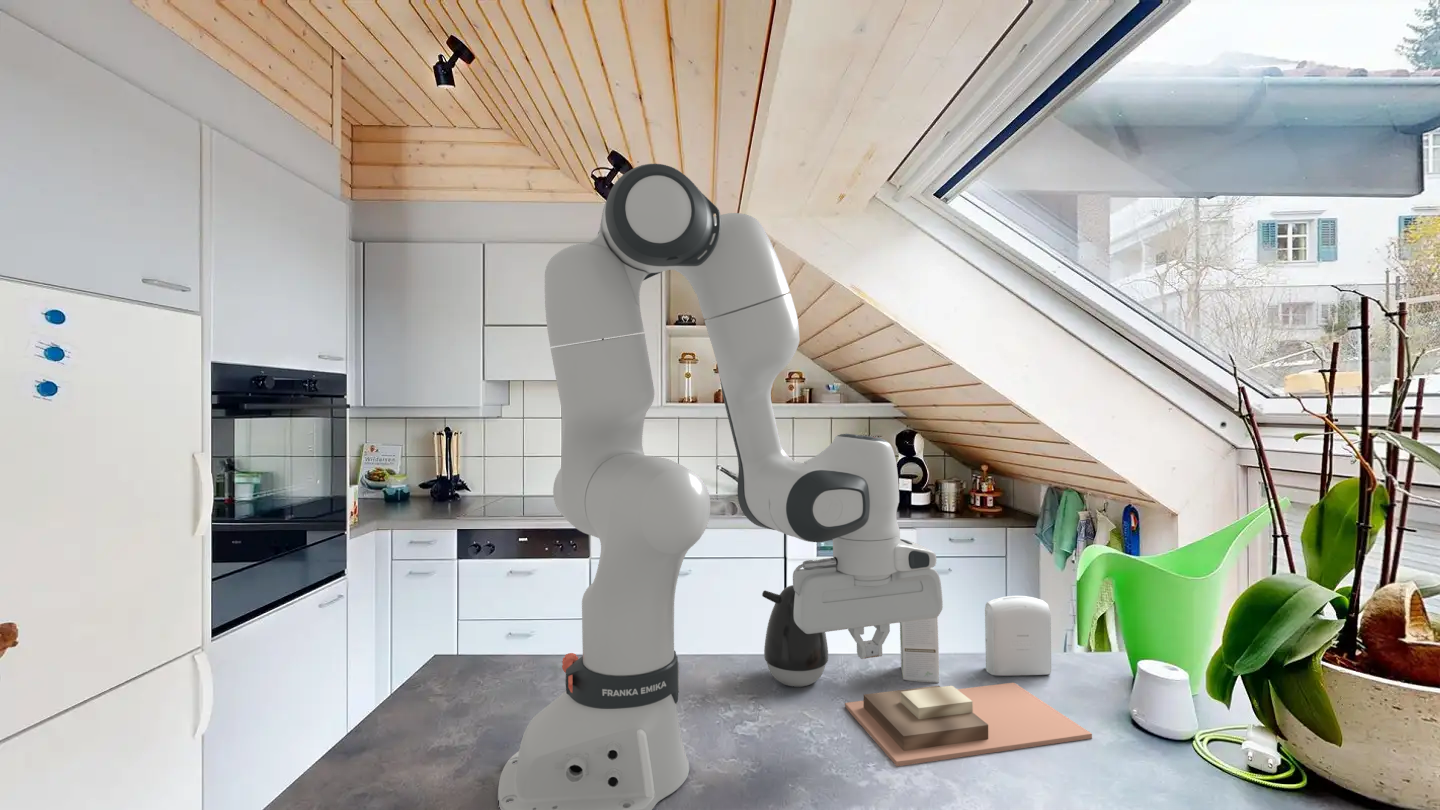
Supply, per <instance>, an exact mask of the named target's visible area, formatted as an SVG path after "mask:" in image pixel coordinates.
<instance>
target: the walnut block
mask: <svg viewBox="0 0 1440 810" xmlns="http://www.w3.org/2000/svg"><path fill="white" fill-rule="evenodd" d="M936 687H941V686H940V685H933V686H924V687H916V688H915V687H914V688H908V689H900V690H898V689H897V690H891V691H881V692H873V693H863V701H864V709H865V710H866V711H867V712H868V713H869V714H870V715H871V716H872V717H873V718H874V719H875V720H876V721H877V723H878V724H879V725H880V726H881V727H882V728H883V729H884V730H885V731H886V732H887V733H888V734H889V736H890V737H891V738H892V739H893V740H894V741H895V742H896V743H897V744H898V745H899V746H900V747H901V748H902V750H903V751H908V750H915V749H922V748H929V747H937V746H944V745H951V744H958V743H965V742H972V741H979V740H987V739H988V724H987V723H985V722H984V721H983V720H982V719H980V718H979V717H978V716H977V715H975V714H974V713H973V712H971V713H964V714H956V715H948V716H940V717H933V718H925V719H918V718H917V717H916V716H915V715H914V714H913V713H911V712H910V711H909V710H908V709H907V708H906V707H905V706H904V705H903V704H902V703H901V692H902V691H911V690H919V689H928V688H936Z"/></svg>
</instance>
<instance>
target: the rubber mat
mask: <svg viewBox="0 0 1440 810" xmlns="http://www.w3.org/2000/svg"><path fill="white" fill-rule="evenodd" d="M956 689H957V690H958V691H960V692H961V693H962V694H964V695H965V696H966V697H968V698H969V699H970V700H971V701H973V713H974V714H975V715H977V716H978V717H979V718H980V719H982V720H983V721H984V722H985V723H987V724H988V739H987V740H979V741H972V742H965V743H958V744H951V745H944V746H937V747H929V748H922V749H915V750H908V751H903V750H902V748H901V747H900V746H899V745H898V744H897V743H896V742H895V741H894V740H893V739H892V738H891V737H890V736H889V734H888V733H887V732H886V731H885V730H884V729H883V728H882V727H881V726H880V725H879V724H878V723H877V721H876V720H875V719H874V718H873V717H872V716H871V715H870V714H869V713H868V712H867V711H866V710H865V709H864V700H859V701H858V700H857V701H851V702H849V701H848V702H845V703H844V708H846V710H847V711H848V712H849V713H850V715H851V716H852V717H853V718H854V719H855V721H857V722H858V723H859V725H860V726H861V727H862V728H863V729H864V731H865V732H866V733H867V734H868V735H869V737H870V738H871V739H873V741H874V742H875V743H876V744H877V746H878V747H879V748H880V749H881V750H882V751H883V753H885V755H886V756H887V757H888V759H890V760H891V762H892V763H893V764H894V765H895V766H896V767H903V766H909V765H916V764H923V763H930V762H931V763H932V762H936V761H944V760H951V759H958V758H965V757H971V756H972V757H973V756H979V755H985V754H992V753H993V754H994V753H999V752H1006V751H1013V750H1014V751H1015V750H1021V749H1027V748H1034V747H1039V746H1047V745H1055V744H1061V743H1068V742H1074V741H1075V742H1076V741H1081V740H1089V739H1093V733H1092V732H1090V731H1088V730H1087V729H1086V728H1084V727H1083V726H1081V725H1079V724H1078V723H1076V722H1075V721H1074V720H1072V719H1070V718H1069V717H1067V716H1066V715H1064V714H1063V713H1061V712H1059V711H1058V710H1057V709H1055V708H1053V707H1052V706H1051V705H1049V704H1047V703H1046V702H1045V701H1042V700H1041V699H1040V698H1038V697H1036V696H1035V695H1034V694H1033V693H1032V692H1031V693H1030V692H1029V691H1028V690H1026V689H1025V688H1023V687H1022V686H1021V685H1018V684H1017V683H1015V682H1007V683H999V684H991V685H983V686H982V685H980V686H974V687H967V688H966V687H965V688H964V687H963V688H956Z"/></svg>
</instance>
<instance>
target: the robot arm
mask: <svg viewBox="0 0 1440 810" xmlns="http://www.w3.org/2000/svg"><path fill="white" fill-rule="evenodd" d="M601 213H602V214H601V219H600V224H599V225H600V226H599V230H598V233H597V235H596V237H594V238H593V239H592V240H589V241H588V242H583V243H576V244H573V245H569V246H567V247H565V248H563V249H561V250H560V251H558V252H556V254H554V255H553V256H552V257H551V258H550V259H549V261H548V262H547V264H546V267H545V271H544V306H545V307H544V309H545V317H546V318H545V321H546V327H547V328H546V329H547V330H546V331H547V334H548V335H547V336H548V341H549V347H550V353H551V357H552V359H551V360H552V365H553V369H554V373H555V374H554V375H555V380H556V381H555V382H556V384H557V385H556V386H557V393H558V397H559V402H560V408H561V409H560V410H561V424H562V425H561V426H562V428H561V429H562V430H561V453H560V454H561V456H560V458H561V459H560V469H559V470H558V471H557V474H556V477H555V479H554V482H553V487H552V493H553V495H552V496H553V501H554V504H555V507H556V508H557V510H558V512H559V513H560V514H561V515H562V517H564V519H565V520H566V521H567V522H568V523H569V524H570V525H571V526H573V528H575V529H576V530H577V531H579V532H581V533H583V534H586V535H588V536H592V537H594V538H598V539H599V542H600V553H599V554H600V555H599V561H598V564H597V565H598V566H597V569H596V573H595V577H594V579H593V582H592V583H590V585H589V586H588V587H587V588H586V589H585V591H584V593H583V595H582V598H581V599H582V600H581V630H582V631H581V633H582V635H581V638H582V641H581V642H582V655H581V656H580V657H579V656H577V653H573V652H569V653H567V654H565V655H564V657H563V658H562V661H561V662H562V663H561V664H562V667H561V668H562V670H563V672H564V673H565V679H564V680H565V691H563V692H562V693H561V694H560V695H558V697H556V698H555V699H554V700H552V702H550V703H549V704H548V705H546V706H545V707H544V708H543V709H541V710H540V711H539V712H538V713H536V714H535V715H534V716H533V717H532V718H531V719H530V721H529V722H528V724H527V727H526V728H525V730H524V733H523V735H522V738H521V741H520V746H519V750H518V751H517V752H515V753H514V754H513V755H512V756H510V758H509V759H508V760H507V762H506V763H505V765H504V767H503V768H502V771H501V773H500V776H499V780H498V781H499V782H498V789H497V801H498V800H499V804H500V806H501V808H502V809H503V810H653V809H654V808H655V806H656V805H657V804H658V803H659V802H660V801H661V800H664V799H665V798H666V797H668V796H670V795H671V794H673V793H674V792H675V791H677V790H679V789H680V788H681V786H682V785H683V784H684V782H685V781H686V780H687V778H688V775H689V772H690V761H689V759H688V756H687V754H686V750H685V746H684V742H683V738H682V732H681V727H680V719H679V713H678V702H679V693H680V663H679V659H678V656H677V653H676V652H677V651H676V650H675V597H676V596H675V595H676V589H677V585H678V584H677V583H678V579H679V575H680V571H681V568H682V564H683V561H684V559H685V557H686V554H687V553H688V551H689V550H690V549H691V548H692V547H693V546H694V545H695V544H697V543H698V541H699V540H700V539H701V537H702V536H703V535H704V533H705V531H706V529H707V527H708V524H709V520H710V517H711V507H712V506H711V498H710V497H711V496H710V494H709V493H710V492H709V490H708V488H707V486H706V484H705V482H704V481H703V479H702V478H701V477H700V476H699V474H697V473H696V472H694V471H692V470H691V469H689V468H688V467H685V466H683V465H681V464H680V463H678V462H675V461H674V460H671V459H669V458H666V457H659V456H653V455H645V453H644V450H643V435H644V434H643V432H644V425H645V424H644V423H645V420H646V415H647V413H648V410H649V409H650V408H651V406H652V405H653V402H654V400H655V388H654V381H653V376H652V369H651V364H650V357H649V351H648V346H647V345H648V344H647V340H646V339H647V338H646V333H644V332H645V329H644V324H643V323H644V322H643V319H642V312H641V305H640V303H641V302H640V295H641V294H640V293H641V292H640V291H641V287H642V284H643V282H644V281H646V280H647V279H650V278H651V277H652V278H653V277H654V276H656V275H659V274H661V273H663V272H666V271H669V270H670V271H675V272H677V273H679V274H680V275H682V276H683V277H684V278H685V279H686V280H687V281H688V283H689V284H690V286H691V287H692V290H693V291H694V294H695V295H696V297H697V301H698V304H699V308H700V312H701V315H702V317H703V318H702V319H703V320H704V324H705V328H706V331H707V333H708V334H707V335H708V337H709V340H710V344H711V347H712V349H713V354H714V357H715V360H716V365H717V366H716V367H717V370H718V376H719V383H720V386H721V394H722V398H723V403H724V406H725V410H726V415H727V418H728V422H729V428H730V431H731V435H732V439H733V442H734V443H733V444H734V447H735V451H736V455H737V462H738V474H737V475H738V476H737V477H738V478H737V500H738V504H739V507H740V509H741V511H742V513H743V515H744V516H745V517H746V519H747V520H748V521H750V522H751V523H752V524H754V525H756V526H758V527H761V528H764V529H768V530H773V531H777V532H780V533H782V534H785V535H787V536H790V537H793V538H795V539H798V540H800V541H801V540H802V541H805V542H810V543H824V542H827V541H831V540H832V554H833V556H832V557H827V558H821V559H815V560H814V559H810V560H809V559H808V560H805V561H802V563H801V564H799V565H798V566H797V567H795V569H794V570H793V573H792V585H793V588H794V591H795V598H794V621H795V623H796V625H797V626H798V627H799V628H800V629H801V630H802V631H803V632H804V633H806V634H813V633H821V632H825V633H827V632H836V631H837V632H838V631H843V630H847V631H848V632H849V633H850V635H851V637H852V638H853V640H854V642H855V643H856V654H857V656H858V658H859V659H861V660H865V659H872V658H879V657H882V656H883V645H884V643H885V641H886V639H888V638H887V637H888V636H889V634H890V631H891V630H890V629H891V628H890V625H892V624H900V622H908V621H916V620H924V619H932V618H937V617H938V618H939V616H940V615H941V612H942V610H943V609H944V608H943V607H944V606H943V605H944V604H943V601H944V600H943V590H942V583H941V578H940V577H941V576H940V575H939V573H938V571H937V570H936V569H935V568H934V567H936V564H937V555H936V553H935V552H934V551H933V550H931V549H929V548H928V547H925V546H923V545H921V544H920V543H915V542H913V541H912V540H911V541H910V540H906V539H902V538H901V530H900V527H899V523H898V518H897V513H898V512H897V511H898V507H899V503H900V491H899V490H900V489H899V488H900V487H899V486H900V485H899V474H898V467H897V466H898V465H897V464H898V463H897V460H896V455H895V452H894V448H893V446H892V445H891V443H890V442H888V441H887V440H886V439H884V438H881V437H877V436H870V435H869V436H868V435H862V434H855V433H854V434H852V433H841V434H837V435H836V436H835V437H834V439H833V441H832V442H831V443H830V444H829V445H828V446H827V447H826V448H825V449H824V450H822V451H821V452H820V453H818V454H816V455H815V456H814V457H811V458H810V459H807V460H805V461H803V462H800V461H795V460H793V459H792V458H791V457H790V456H789V455H788V454H787V453H786V451H785V450H784V449H783V448H784V447H783V446H782V442H781V438H780V435H779V430H778V429H779V428H778V425H777V420H776V416H775V411H774V407H773V402H772V387H773V384H774V382H775V379H776V378H777V376H778V375H779V374H780V373H781V372H782V371H783V370H785V368H786V367H787V366H788V365H789V364H790V363H791V361H792V359H793V358H794V356H795V354H796V352H797V349H798V347H799V344H800V341H801V340H800V326H799V318H798V313H797V310H796V306H795V303H794V298H793V296H792V293H791V290H790V286H789V284H788V280H787V277H786V275H785V272H784V269H783V266H782V264H781V262H780V259H779V257H778V254H777V252H776V250H775V248H774V246H773V244H772V242H771V240H770V237H769V236H768V234H767V232H766V231H765V228H764V226H763V225H762V223H760V221H759V220H758V219H756V218H755V216H751V215H749V214H746V213H739V212H729V213H723V214H721V212H720V210H719V208H718V207H717V205H715V203H713V202H712V201H711V200H710V199H709V198H708V197H707V196H706V195H705V194H704V193H702V191H701V190H700V189H699V188H698V187H697V185H695V183H694V182H693V181H692V180H691V179H690V178H689V177H688V176H687V175H685V174H684V172H681V171H679V169H676V168H675V167H672V166H670V165H668V164H662V163H647V164H642V165H639V166H636V167H634V168H632V169H631V168H630V170H628V171H626V172H624V174H622V175H621V176H620V177H619V178H618V179H617V180H616V181H615V182H614V184H613V185H612V187H611V189H610V191H609V192H608V196H607V199H606V201H605V203H604V206H603V210H602V212H601ZM714 215H715V216H714ZM551 347H552V348H551ZM867 627H874V628H875V629H876V630H875V632H874V634H873V636H872V638H871V639H870V640H863V638H862V635H865V628H867ZM515 762H517V764H513V763H515ZM509 801H513V802H511V803H507V802H509Z"/></svg>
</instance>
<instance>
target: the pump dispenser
mask: <svg viewBox="0 0 1440 810" xmlns="http://www.w3.org/2000/svg"><path fill="white" fill-rule="evenodd" d="M761 596H762V597H763V598H765V599H767V600H769V601H770V602H772V603H774V606H773V607H772V610H771V613H770V614H769V619H768V623H767V627H766V632H765V638H764V639H765V640H764V649H763V651H764V653H763V657H764V660H765V662H766V664H767V667H768V671H769V672H770V674H771V675H772V677H773V678H774V679H775V680H776V681H778V682H779V683H781V684H783V685H785V686H789V687H793V686H794V688H799V687H801V688H802V687H806V686H809V685H812V684H814V683H816V682H817V681H818V680H819V679H820V678H821V676H822V675H823V673H824V671H825V670H826V669H825V668H826V665H827V663H828V661H829V647H828V639H827V635H826V633H827V632H821V633H813V634H806V633H804V632H803V631H802V630H801V629H800V628H799V627H798V626H797V625H796V623H795V621H794V598H795V591H794V588H793V584H792V585H788V586H786V587H785V588H784V589H783V590H782V591H780V593H779V594H778V593H774V592H771V591H769V590H763V591H762V594H761Z"/></svg>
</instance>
